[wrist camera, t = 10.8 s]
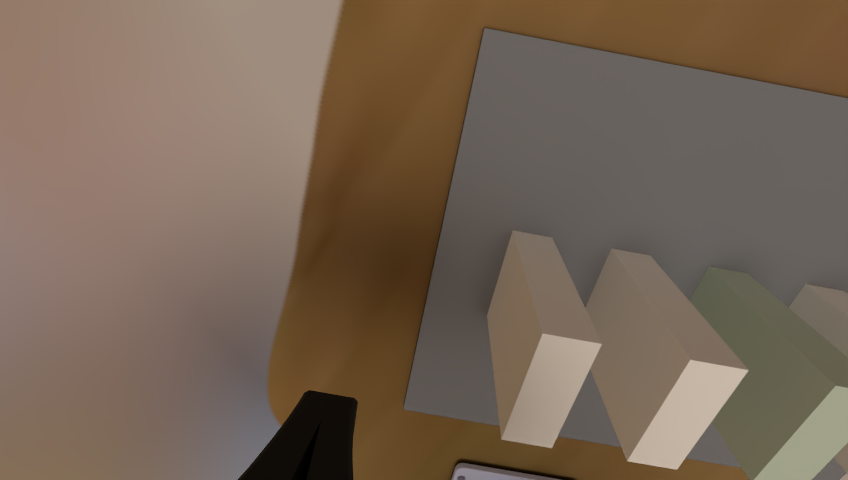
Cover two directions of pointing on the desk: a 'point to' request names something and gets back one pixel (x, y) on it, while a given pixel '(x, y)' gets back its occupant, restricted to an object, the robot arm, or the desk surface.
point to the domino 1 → (537, 341)
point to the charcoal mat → (625, 200)
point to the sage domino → (775, 381)
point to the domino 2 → (656, 361)
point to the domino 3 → (826, 326)
